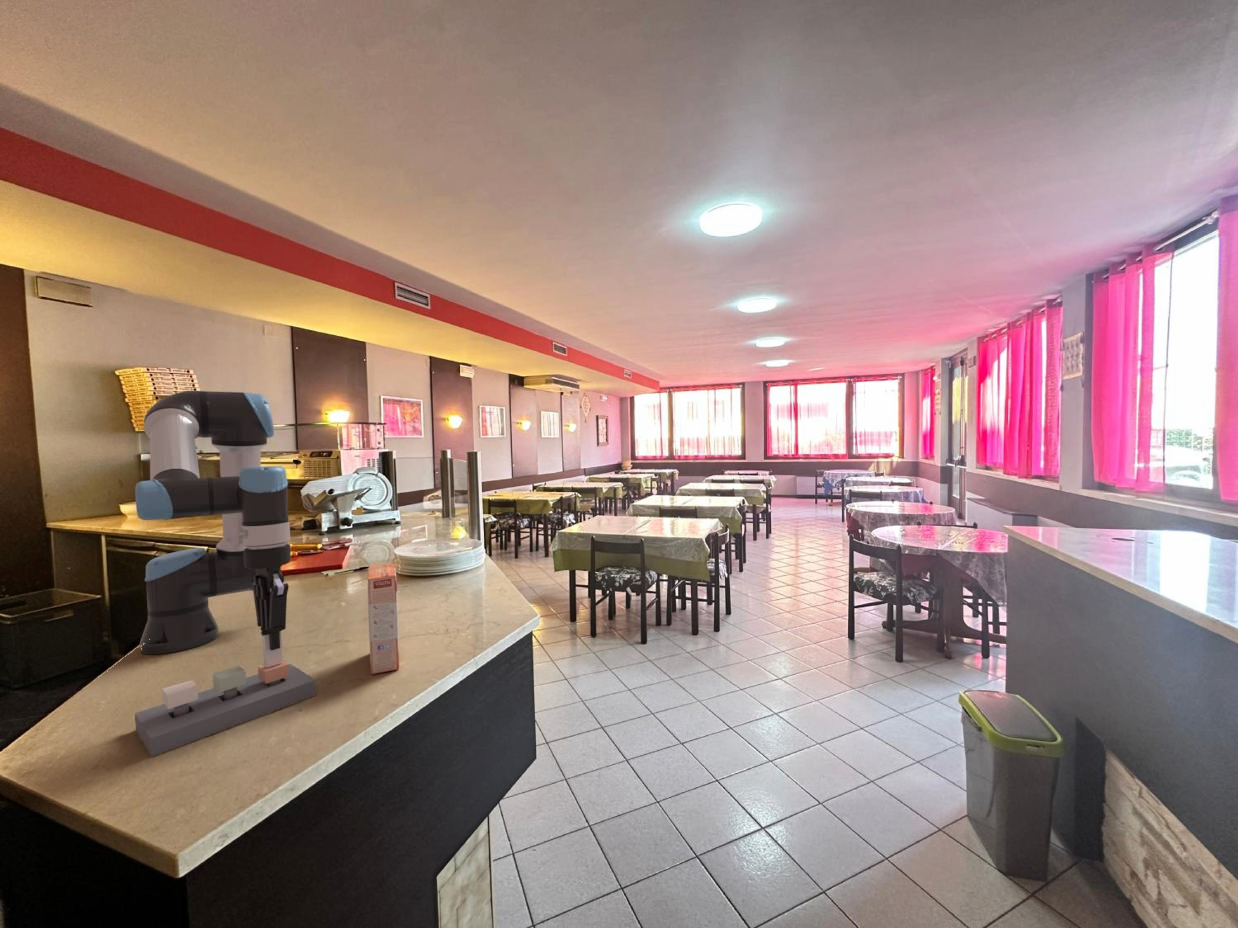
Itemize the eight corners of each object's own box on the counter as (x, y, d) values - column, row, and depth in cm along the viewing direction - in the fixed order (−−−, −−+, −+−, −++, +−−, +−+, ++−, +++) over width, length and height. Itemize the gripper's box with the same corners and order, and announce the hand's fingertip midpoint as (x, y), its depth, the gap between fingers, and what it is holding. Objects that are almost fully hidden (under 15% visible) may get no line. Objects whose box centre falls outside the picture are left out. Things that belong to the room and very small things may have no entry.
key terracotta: (259, 692, 98) (257, 666, 98) (282, 684, 101) (281, 659, 101) (266, 698, 95) (265, 671, 95) (290, 690, 98) (288, 663, 98)
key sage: (214, 701, 92) (212, 673, 92) (240, 692, 95) (238, 665, 95) (220, 708, 90) (219, 679, 90) (247, 698, 93) (245, 670, 93)
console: (135, 729, 87) (134, 713, 87) (291, 677, 106) (290, 663, 106) (151, 756, 79) (150, 738, 79) (316, 694, 98) (315, 679, 98)
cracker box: (401, 670, 108) (397, 574, 108) (370, 676, 106) (365, 578, 105) (399, 647, 121) (395, 562, 120) (371, 652, 118) (367, 565, 118)
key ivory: (163, 718, 87) (162, 688, 87) (193, 708, 90) (191, 679, 90) (169, 725, 84) (167, 695, 84) (199, 715, 87) (197, 685, 87)
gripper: (233, 545, 98) (239, 663, 99) (255, 552, 90) (262, 680, 91) (277, 539, 104) (282, 650, 105) (301, 545, 96) (307, 665, 97)
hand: (273, 664), depth 98 cm, fingers closed
